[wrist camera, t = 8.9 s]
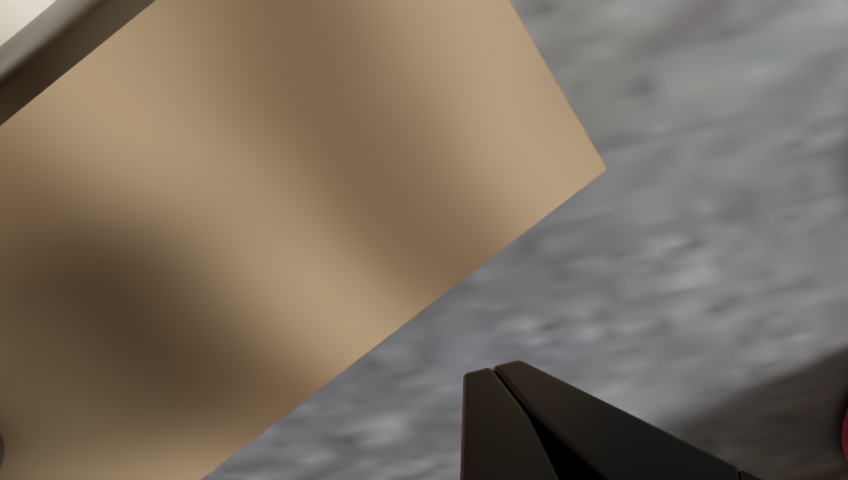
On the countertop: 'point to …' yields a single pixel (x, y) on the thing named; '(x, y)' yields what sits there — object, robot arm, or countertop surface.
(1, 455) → the latch bar
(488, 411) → the robot arm
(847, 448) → the wine bottle
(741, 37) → the countertop surface
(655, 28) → the countertop surface
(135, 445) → the door and jamb
